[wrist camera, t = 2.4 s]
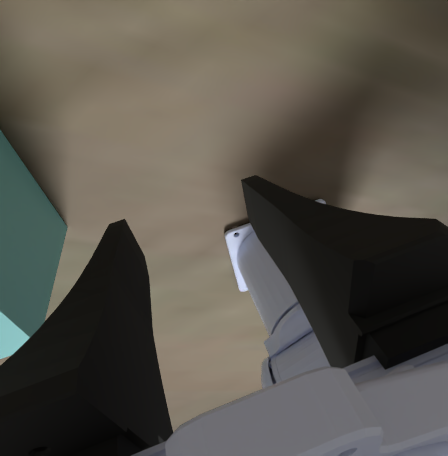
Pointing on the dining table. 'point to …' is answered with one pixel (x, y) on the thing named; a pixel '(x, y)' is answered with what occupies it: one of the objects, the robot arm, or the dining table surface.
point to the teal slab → (25, 251)
